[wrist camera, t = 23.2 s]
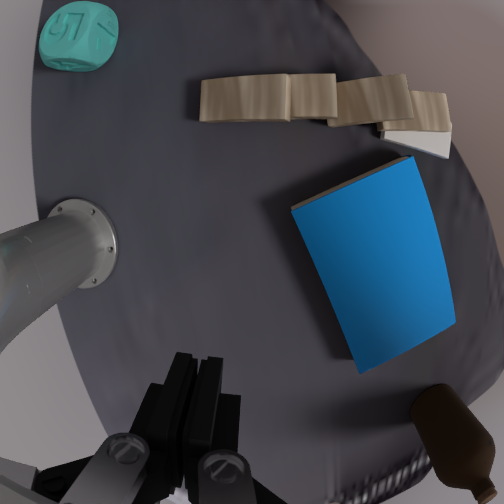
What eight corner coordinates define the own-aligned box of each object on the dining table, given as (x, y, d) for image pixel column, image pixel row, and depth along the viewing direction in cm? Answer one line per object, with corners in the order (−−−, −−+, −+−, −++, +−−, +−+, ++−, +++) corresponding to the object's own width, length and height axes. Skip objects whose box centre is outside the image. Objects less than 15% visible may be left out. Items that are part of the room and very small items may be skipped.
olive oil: (411, 389, 46) (472, 497, 21) (459, 374, 45) (529, 464, 21) (402, 428, 48) (447, 528, 24) (448, 413, 48) (500, 500, 24)
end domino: (384, 138, 34) (448, 158, 34) (388, 100, 33) (452, 123, 33) (378, 139, 36) (441, 158, 36) (382, 103, 35) (444, 124, 35)
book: (359, 375, 40) (288, 213, 34) (352, 358, 45) (285, 207, 39) (460, 320, 38) (417, 153, 32) (446, 308, 42) (401, 153, 36)
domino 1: (199, 121, 34) (284, 118, 30) (201, 80, 32) (286, 73, 29) (208, 122, 35) (290, 121, 32) (210, 83, 34) (291, 78, 30)
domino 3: (328, 125, 34) (413, 116, 28) (321, 85, 32) (404, 73, 27) (333, 127, 35) (414, 119, 30) (326, 88, 34) (406, 78, 29)
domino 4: (383, 129, 32) (451, 131, 32) (377, 88, 31) (445, 93, 30) (377, 131, 34) (443, 132, 33) (371, 92, 33) (438, 96, 32)
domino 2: (247, 118, 34) (337, 116, 31) (246, 77, 32) (335, 73, 29) (252, 120, 35) (337, 119, 33) (251, 81, 34) (335, 78, 31)
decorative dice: (108, 71, 33) (80, 55, 26) (63, 73, 33) (30, 60, 25) (124, 20, 31) (100, -3, 24) (78, 24, 31) (50, 5, 23)
